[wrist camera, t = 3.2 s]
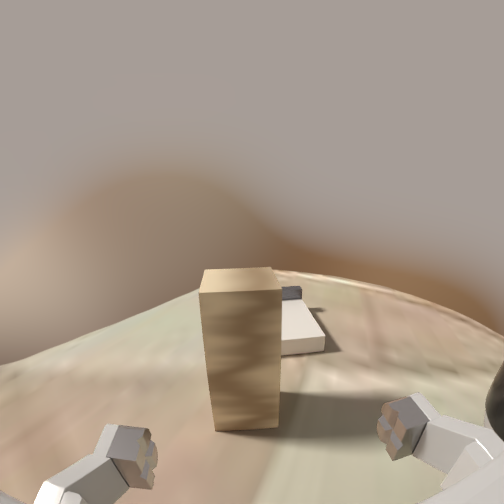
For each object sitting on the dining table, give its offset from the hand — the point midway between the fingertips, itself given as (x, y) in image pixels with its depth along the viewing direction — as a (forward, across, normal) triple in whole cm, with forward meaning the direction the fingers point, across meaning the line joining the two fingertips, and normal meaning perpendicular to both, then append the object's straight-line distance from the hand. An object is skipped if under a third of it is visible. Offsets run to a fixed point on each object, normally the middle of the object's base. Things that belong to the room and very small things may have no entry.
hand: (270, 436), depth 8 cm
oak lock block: (+12, +1, +10) cm, 16 cm away
